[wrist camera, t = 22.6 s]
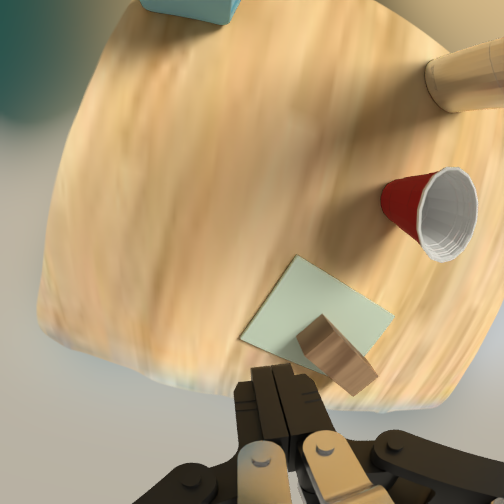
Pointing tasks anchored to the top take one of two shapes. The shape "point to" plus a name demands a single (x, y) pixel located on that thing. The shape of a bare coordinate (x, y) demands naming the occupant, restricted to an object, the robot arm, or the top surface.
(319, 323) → the walnut block
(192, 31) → the top surface
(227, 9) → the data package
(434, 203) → the plastic cup
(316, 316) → the mat
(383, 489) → the robot arm
